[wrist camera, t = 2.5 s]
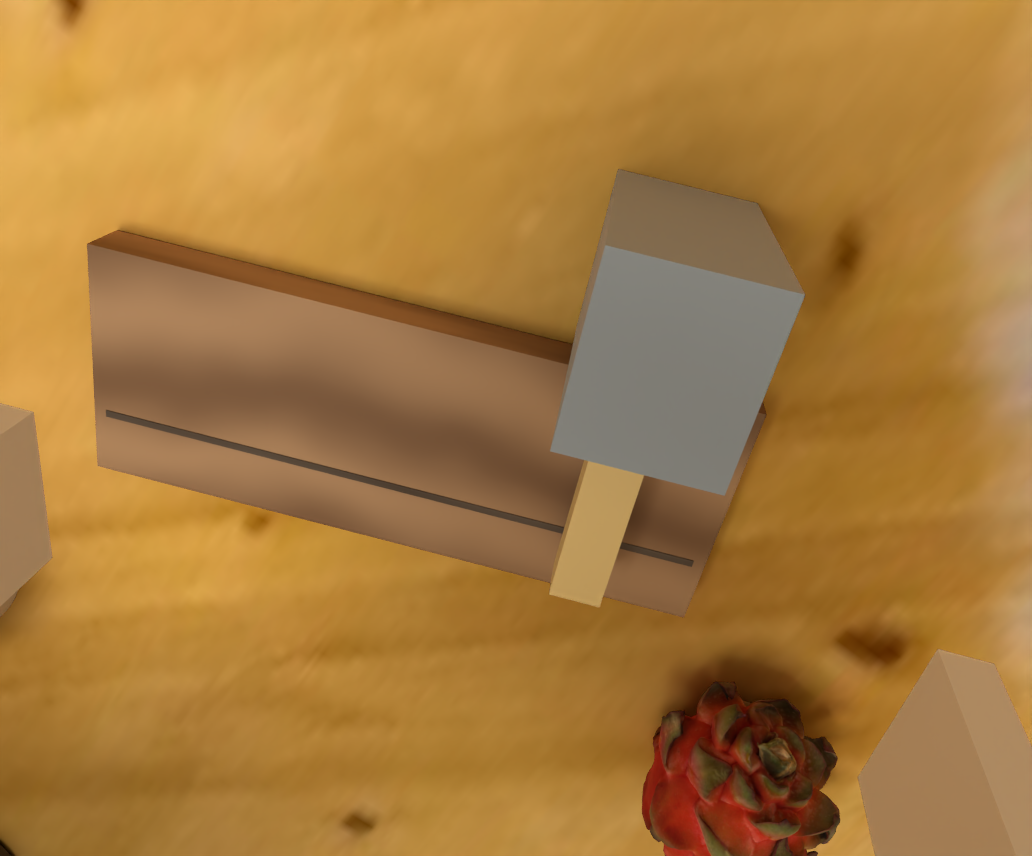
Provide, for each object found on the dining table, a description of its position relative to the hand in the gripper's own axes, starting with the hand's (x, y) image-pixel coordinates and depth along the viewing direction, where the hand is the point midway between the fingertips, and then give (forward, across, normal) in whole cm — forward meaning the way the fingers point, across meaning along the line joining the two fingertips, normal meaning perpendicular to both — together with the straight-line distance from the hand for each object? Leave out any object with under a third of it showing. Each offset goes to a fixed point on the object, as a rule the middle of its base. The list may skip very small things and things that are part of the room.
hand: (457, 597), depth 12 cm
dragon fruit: (+21, -13, +23) cm, 33 cm away
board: (+20, +5, +10) cm, 23 cm away
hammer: (+21, -3, +6) cm, 22 cm away
